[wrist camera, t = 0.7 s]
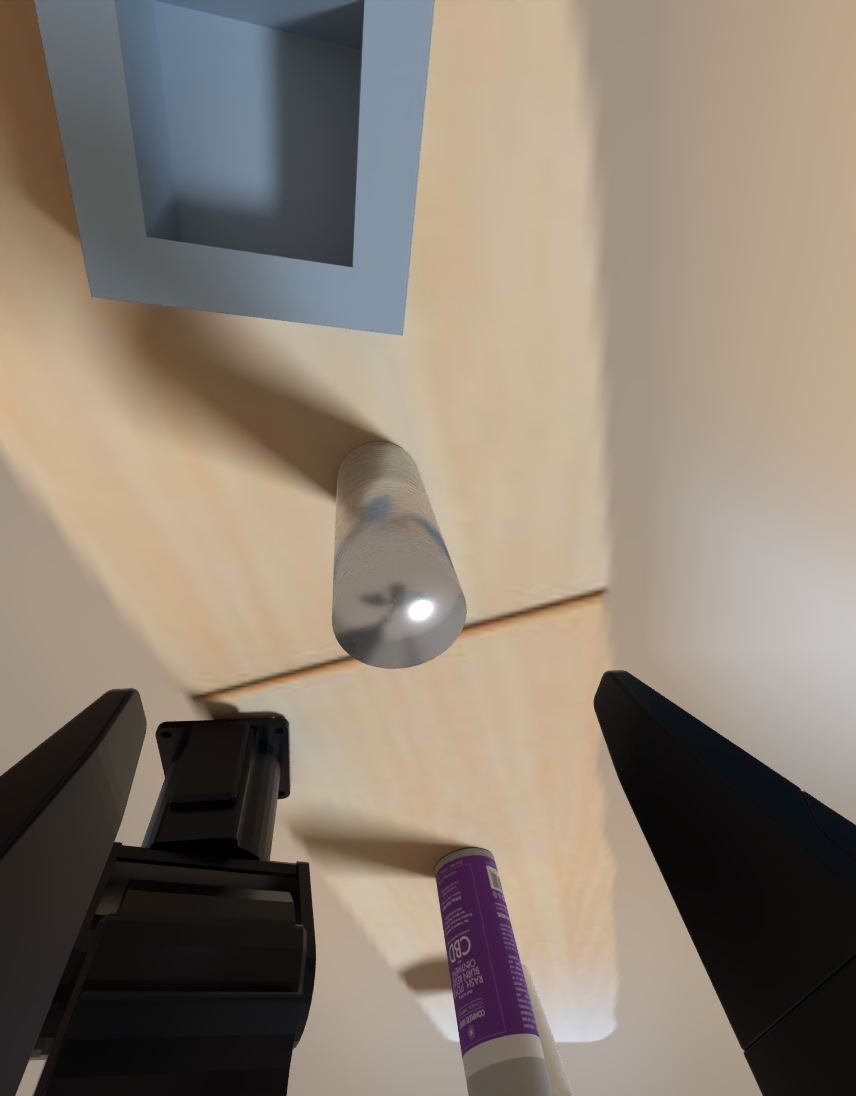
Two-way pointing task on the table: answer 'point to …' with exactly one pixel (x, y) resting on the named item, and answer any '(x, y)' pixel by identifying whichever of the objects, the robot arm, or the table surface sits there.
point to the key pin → (391, 563)
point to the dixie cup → (548, 1043)
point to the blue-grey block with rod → (244, 151)
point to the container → (488, 981)
